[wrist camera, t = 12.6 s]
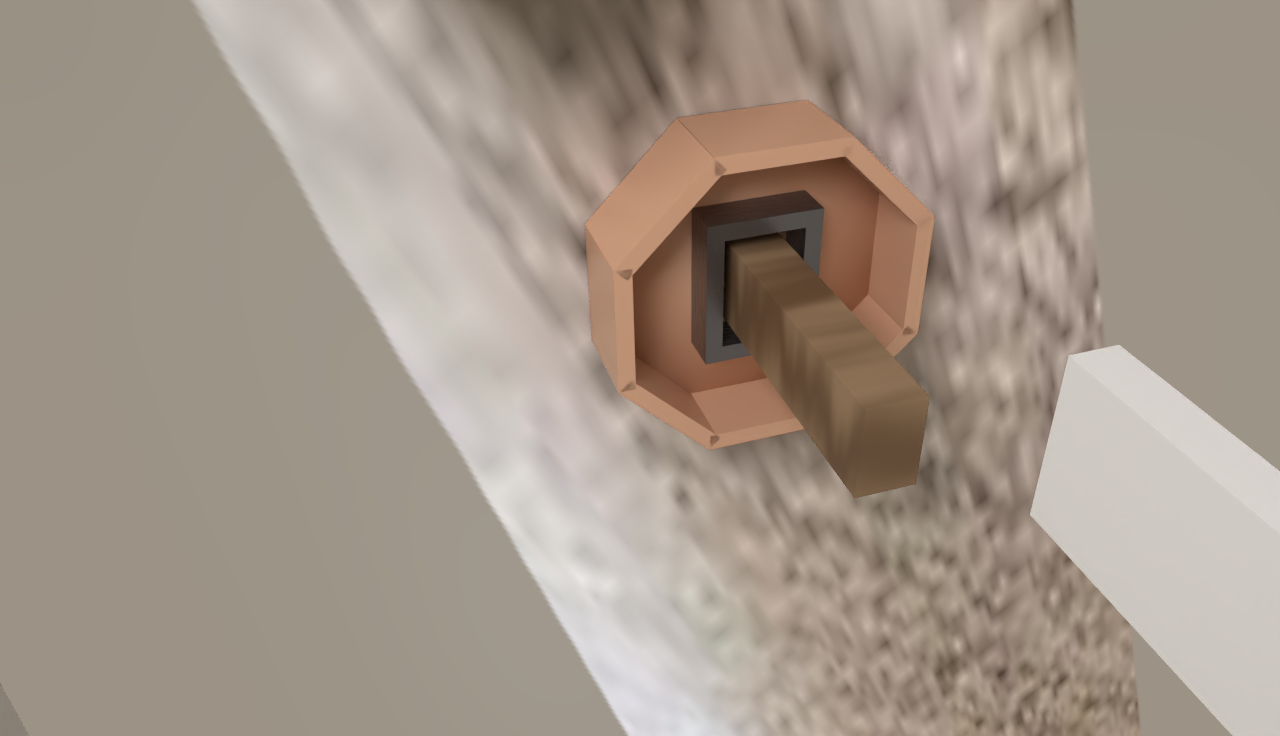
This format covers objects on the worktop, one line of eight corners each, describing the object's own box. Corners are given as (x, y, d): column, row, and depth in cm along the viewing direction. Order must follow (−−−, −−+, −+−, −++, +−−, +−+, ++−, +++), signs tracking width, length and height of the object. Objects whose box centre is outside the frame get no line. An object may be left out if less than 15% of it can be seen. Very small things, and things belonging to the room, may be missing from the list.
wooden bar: (720, 234, 48) (865, 410, 37) (771, 226, 48) (930, 396, 37) (718, 310, 50) (854, 498, 39) (767, 301, 50) (915, 483, 39)
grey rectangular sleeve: (691, 207, 46) (707, 227, 45) (804, 189, 48) (824, 208, 46) (691, 342, 50) (705, 364, 49) (795, 322, 52) (813, 343, 50)
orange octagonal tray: (579, 131, 44) (608, 173, 40) (895, 87, 47) (948, 122, 44) (596, 413, 52) (621, 468, 49) (864, 358, 56) (907, 407, 52)
